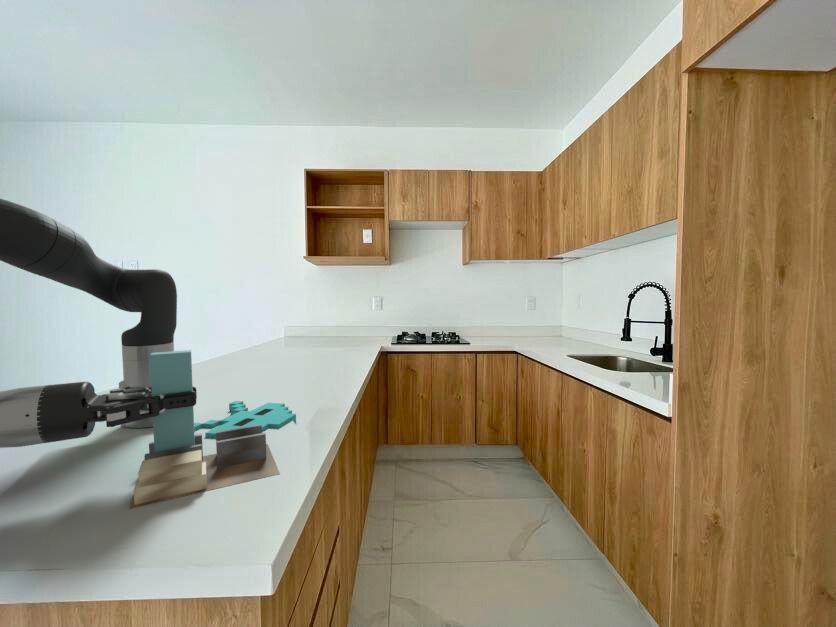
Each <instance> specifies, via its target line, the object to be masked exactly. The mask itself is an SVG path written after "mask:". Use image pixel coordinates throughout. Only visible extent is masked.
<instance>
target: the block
mask: <svg viewBox="0 0 836 627" xmlns="http://www.w3.org/2000/svg"><path fill="white" fill-rule="evenodd" d="M192 360H193V359H192V350H191V349H188V350H187V349H186V350H185V349H183V350H174V351H170V352H155V353H151V355H150V364H151V386H152V395H154V394H160V393H162V394H165V396H166V394H169V393H178V392H186V391H193V387H194V386H193V366H192V365H193V363H192ZM194 413H195V412H194V406H190V407H182V408H175V409H167V408H166V411H164V412H162V413H159V415H158V416H156V417H153V426H152V427H153V428H152V429H153V430H152V431H153V442H154V452H158V451H164V450H170V449H175V448H181V447H187V446H192V445H195V435H196V434H195V431H194V423H195V417H194V416H195V415H194Z"/></svg>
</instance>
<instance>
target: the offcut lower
mask: <svg viewBox="0 0 836 627" xmlns="http://www.w3.org/2000/svg"><path fill="white" fill-rule="evenodd" d="M206 488H207V473H206V462H202V474H201V475H196V476H191V477H187V478H182V479H177V480H172V481H168V482H163V483H158V484H154V485H149V486H144V487H139V477H137V480H136V483H135V486H134V488H133V495H134V502H135V505H136V504H140V503H145V502H149V501H153V500H158V499H162V498H167V497H171V496H175V495H180V494H184V493H188V492H193V491H197V490H201V489H206Z"/></svg>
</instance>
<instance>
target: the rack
mask: <svg viewBox="0 0 836 627" xmlns="http://www.w3.org/2000/svg"><path fill="white" fill-rule="evenodd" d="M194 435H195V445H192V446H187V447H181V448H175V449H170V450H164V451H158V452H154V441H151V442H149V443H148V453H145V454H144V460H148V459H154V458H159V457H164V456H170V455H175V454H181V453H186V452H192V451H197V450H202V462H206V473H207V488H206V489H201V490H197V491H193V492H188V493H184V494H180V495H175V496H171V497H167V498H162V499H158V500H153V501H149V502H145V503H140V504H136V505H135V502H134V494H133V495H132V499H131V501H130V504H129V507H128V510H130V509H136V508H139V507H140V508H141V507H144V506H150V505H154V504H157V503H160V502H166V501H171V500H174V499H180V498H182V497H188V496H191V495H196V494H200V493H205V492H208V491H213V490H217V489H221V488H222V489H223V488H225V487H231V486H234V485H239V484H242V483H248V482H251V481H257V480H260V479H264V478H265V479H266V478H269V477H272V476H278V475H280V474H281V472H280V470H279V468H278V465H277V463H276V461H275V458H274V456H273V454H272V451H271V448H270V447H269V444H268V443H267V434H266V432H263V431H262V425H261V424H258V425H252V426H246V427H240V428H234V429H228V430H222V431H216V438H215V444H216V449H215V450H216V453H213V454H208V455H203V454H204V452H203V451H204V450H203V433H200V434H194Z"/></svg>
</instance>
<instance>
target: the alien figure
mask: <svg viewBox="0 0 836 627" xmlns="http://www.w3.org/2000/svg"><path fill="white" fill-rule="evenodd" d="M229 410H231V411H230V415H229V416H227V417H225V418H223V419H221V420H219V419H218V420H217V419H215V420H214V419H210V420H208V421H205V422H203V423H202V422H200V423H199V422H194V432H196V431H198V430H201V429H202V428H208V429H209V428H210V429H211V430H209V431H206V432H205V438H212V439H213V438H215V439H216V431H222V430H228V429H234V428H240V427H246V426H252V425H258V424H261V425H262V432H263V431H265V430H267V429H268V428H271V429H273V428H274V429H279V428H281V427H284V426H285V425H286V424H288V423H290V422H291V421H292V422H294V423H297V414H296V413H293V410H291V409H289V406H286V404H285V403H283V402H282V403H278V402H266V403H264V404H262V405H260V406H258V407H256V408H254V409H252V410H249V407H246V404H244V401H241V400H234V401H232V402H229V404H228V411H229ZM231 413H233V414H231Z"/></svg>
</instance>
